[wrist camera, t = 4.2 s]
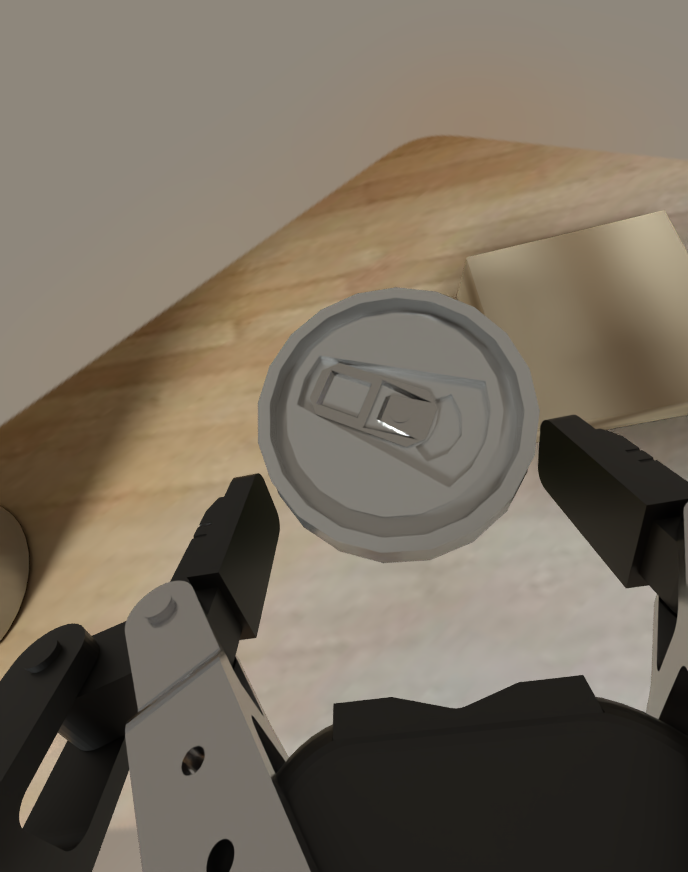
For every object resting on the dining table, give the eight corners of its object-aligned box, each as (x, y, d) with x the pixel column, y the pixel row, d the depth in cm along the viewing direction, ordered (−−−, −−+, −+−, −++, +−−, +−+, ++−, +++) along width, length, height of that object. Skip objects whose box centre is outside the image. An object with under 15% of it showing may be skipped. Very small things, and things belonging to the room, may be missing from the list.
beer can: (326, 518, 18) (194, 491, 6) (365, 422, 19) (314, 251, 7) (429, 563, 16) (498, 632, 5) (465, 458, 18) (592, 317, 6)
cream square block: (501, 448, 17) (522, 432, 14) (456, 296, 20) (466, 257, 17) (698, 412, 16) (761, 387, 14) (624, 258, 19) (664, 210, 16)
